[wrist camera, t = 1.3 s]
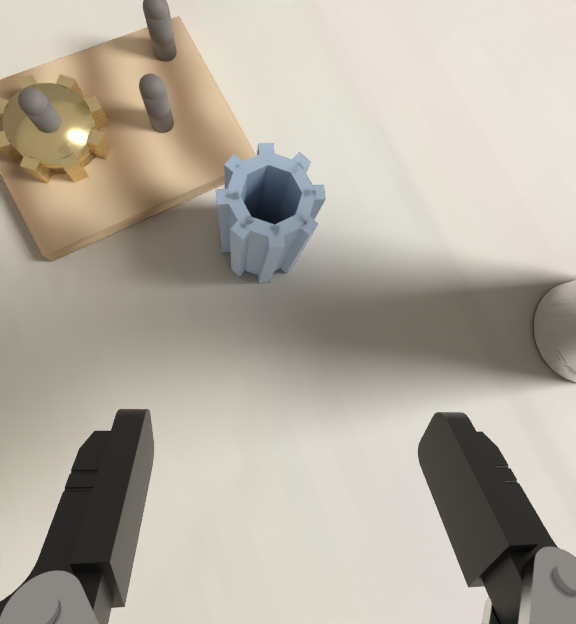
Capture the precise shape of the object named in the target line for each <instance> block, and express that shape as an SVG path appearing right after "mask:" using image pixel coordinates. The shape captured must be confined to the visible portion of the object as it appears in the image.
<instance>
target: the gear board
mask: <svg viewBox="0 0 576 624" xmlns="http://www.w3.org/2000/svg"><path fill="white" fill-rule="evenodd" d="M143 10H144V14H145V18H146V22H147V26H148V27H147V28H144V29H141V30H139V31H136V32H133V33H130V34H127V35H125V36H122V37H119V38H116V39H113V40H111V41H108V42H105V43H102V44H99V45H96V46H94V47H91V48H88V49H85V50H82V51H80V52H77V53H74V54H71V55H68V56H66V57H63V58H60V59H57V60H54V61H51V62H49V63H46V64H43V65H40V66H37V67H35V68H32V69H29V70H26V71H23V72H21V73H18V74H15V75H12V76H9V77H6V78H4V79H1V80H0V98H3V99H6V100H10V99H11V98H12V97H13V96H14V95H15V94H16V93H17V92H19V91H20V90H22V88H21V86H20V84H19V82H18V80H17V79H19V78H22V77H25V76H27V75H30V74H32V75H33V76H34V77H35V79H36V80H37V82H38V83H54V84H56V82H57V79H58V77H59V75H60V74H62V75H65V76H68V77H71V78H74V79H75V80H76V82H77V84H78V85H79V87H80V89H81V91H82V93H83V95H84V96H85V98H84V100H85V99H88V98H90V97H93V96H96V98H97V100H98V102H99V104H100V106H101V107H102V109H103V111H104V113H105V115H106V117H107V119H108V121H109V123H110V125H108V126H105V127H103V128H100V131H101V132H103V133H104V134H105V136H106V138H107V140H108V142H109V143H110V145H111V150H110V152H109V155H108V157H107V160H106V159H103V158H100V157H97V156H95V158H94V159H93V160H92V161H91V162H90V163H89V164H88V165H87V166H85V167H84V168H85V170H86V172H87V174H88V176H89V177H87V178H85V179H83V180H80V181H78V182H74V181H73V179H72V178H71V177H70V176H69V175H68V174H52V177H51V179H50V181H49V184H48V183H45V182H42V181H39V180H36V179H33V178H32V177H31V176H30V175H29V174H28V173H27V172H26V171H25V170H24V169H23V168H22V167H20V164H21V162H22V160H19V161H17V162H12V161H11V160H10V159H9V158H8V157H7V156H6V155H5V154H4V153H3V152H2V151H1V150H0V174H1V176H2V178H3V180H4V182H5V184H6V186H7V188H8V190H9V192H10V194H11V196H12V198H13V200H14V202H15V204H16V206H17V208H18V209H19V211H20V213H21V215H22V217H23V219H24V221H25V223H26V225H27V227H28V229H29V231H30V233H31V235H32V237H33V239H34V241H35V243H36V245H37V247H38V248H39V250H40V252H41V254H42V256H43V257H45V258H46V259H48V260H50V261H54V260H56V259H58V258H61V257H63V256H65V255H67V254H69V253H72V252H74V251H76V250H78V249H81V248H83V247H85V246H87V245H89V244H92V243H94V242H96V241H98V240H101V239H103V238H105V237H107V236H109V235H112V234H114V233H116V232H118V231H121V230H123V229H125V228H127V227H129V226H132V225H134V224H136V223H138V222H141V221H143V220H145V219H147V218H149V217H152V216H154V215H156V214H158V213H161V212H163V211H165V210H167V209H170V208H172V207H174V206H176V205H178V204H181V203H183V202H185V201H187V200H190V199H192V198H194V197H196V196H198V195H201V194H203V193H205V192H207V191H210V190H212V189H214V188H216V187H218V186H221V185H223V184H225V175H224V164H225V163H226V162H227V161H228V160H229V159H230V158H231V157H232V156H233V155H234V154H235V155H236V156H237V157H238V158H239V159H241V160H242V161H245V160H247V159H250V158H252V157H254V156H256V154H255V152H254V151H253V149H252V147H251V145H250V143H249V141H248V140H247V138H246V136H245V134H244V132H243V131H242V129H241V127H240V125H239V123H238V122H237V120H236V118H235V116H234V114H233V113H232V111H231V109H230V107H229V105H228V104H227V102H226V100H225V98H224V96H223V94H222V93H221V91H220V89H219V87H218V85H217V84H216V82H215V80H214V78H213V76H212V75H211V73H210V71H209V69H208V67H207V66H206V64H205V62H204V60H203V58H202V57H201V55H200V53H199V51H198V49H197V47H196V46H195V44H194V42H193V40H192V38H191V37H190V35H189V33H188V31H187V29H186V28H185V26H184V24H183V22H182V20H181V19H180V17H179V16H178V17H175V18H172V19H171V17H170V12H169V7H168V4H167V2H166V0H144V1H143ZM18 102H19V105H20V108H21V109H22V110H23V112H24V113H25V114H26V115H27V117H28V118H29V119H30V120H31V121H32V123H33V124H34V125H35V126H36V127H37V129H38V130H40V131H41V132H44V133H52V132H55V131H57V130H58V129H59V128H60V126H61V117H60V116H59V114H58V113H57V111H56V110H55V108H54V107H53V105H52V104H51V103H50V101H49V100H48V98H47V97H46V96H45V94H44V93H42V92H41V91H39V90H37V89H35V88H26V89H24V90H22V91H21V92H20V94H19V96H18ZM1 131H3V124H2V121H1V120H0V132H1Z"/></svg>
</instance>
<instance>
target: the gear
mask: <svg viewBox="0 0 576 624" xmlns="http://www.w3.org/2000/svg"><path fill="white" fill-rule="evenodd" d="M17 80H18V82H19V84H20V86H21V88H22V90H24V89H26V88H35V89H37V90H39V91H41V92H42V93H44V94H45V96H46V97H47V98H48V100H49V101H50V103H51V104H52V105H53V107H54V108H55V110H56V111H57V113H58V114H59V116H60V117H61V126H60V128H59V129H58V130H57V131H55V132H52V133H44V132H41V131H40V130H38V129H37V127H36V126H35V125H34V124H33V123H32V121H31V120H30V119H29V118H28V117H27V115H26V114H25V113H24V112H23V110H22V109H21V108H20V105H19V102H18V96H19V94H20V92H21V91H22V90H20V91H19V92H17V93H16V94H15V95H14V96H13V97H12V98H11V99H10V100H6V99H3V98H0V120H1V121H2V124H3V131H1V132H0V150H1V151H2V152H3V153H4V154H5V155H6V156H7V157H8V158H9V159H10V160H11V161H12V162H17V161H19V160H22V162H21V164H20V167H22V168H23V169H24V170H25V171H26V172H27V173H28V174H29V175H30V176H31V177H32V178H33V179H36V180H39V181H42V182H45V183H48V184H49V181H50V179H51V177H52V174H68V175H69V176H70V177H71V178H72V179H73V181H74V182H78V181H80V180H83V179H85V178H87V177H89V176H88V174H87V172H86V170H85V168H84V167H85V166H87V165H88V164H89V163H90V162H91V161H92V160H93V159H94V158H95V156H97V157H100V158H103V159H106V160H107V157H108V155H109V152H110V150H111V145H110V143H109V142H108V140H107V138H106V136H105V134H104V133H103V132H101V131H100V128H103V127H105V126H108V125H110V123H109V121H108V119H107V117H106V115H105V113H104V111H103V109H102V107H101V106H100V104H99V102H98V100H97V98H96V96H93V97H90V98H88V99H85V100H84V98H85V96H84V95H83V93H82V91H81V89H80V87H79V85H78V84H77V82H76V80H75V79H74V78H71V77H68V76H65V75H62V74H60V75H59V77H58V79H57V82H56V84H54V83H38V82H37V80H36V79H35V77H34V76H33V75H32V74H30V75H27V76H25V77H22V78H19V79H17Z"/></svg>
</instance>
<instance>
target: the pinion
mask: <svg viewBox="0 0 576 624" xmlns="http://www.w3.org/2000/svg"><path fill="white" fill-rule="evenodd" d="M310 162H311V161H310V160H308V159H307V158H306V157H305V156H303V155H302V154H301V153H300V152H299V153H298V154H297V155H296V156H295V157H294V158H293V159H292V160H291V159H289V158H286V157H283V156H280V155H277V154H275V152H274V144H273V143H258V151H257V156H254V157H252V158H250V159H247V160H245V161H242V160H241V159H239V158H238V157H237V156H236V155H235V154H234V155H233V156H232V157H231V158H230V159H229V160H228V161H227V162H226V163H225V164H224V175H225V189H217V190H216V200H217V210H218V220H219V231H220V241H221V252H222V253H229V252H230V253H231V271H232V272H234V273H235V274H236V275H237V276H239V277H240V276H241V275H242V274H243V273H244V271H246V272H249V273H253V274H256V275H258V283H267V282H270V280H271V277H272V275H273V273H274V271H276V270H278V269H281V270H283V271H284V272H285V273H287V272H288V271H289V270H290V269H291V267H292V266H293V265H294V263H295V262H296V260H297V258H298V257H299V255H300V253H301V252H302V250H303V248H304V247H305V245H306V243H307V242H308V240H309V238H310V237H311V235H312V234H313V232H314V230H315V229H316V227H317V225H318V223H317V222H316V221H314V219H315V217H316V215H317V213H318V212H319V210H320V208H321V206H322V205H323V203H324V201H325V191H324V185H312V183H311V181H310V180H309V178H308V176H307V174H306V173H307V170H308V167H309V165H310Z"/></svg>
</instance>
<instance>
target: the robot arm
mask: <svg viewBox="0 0 576 624" xmlns="http://www.w3.org/2000/svg"><path fill="white" fill-rule="evenodd" d="M534 336H535V340H536V344H537V347H538V349H539V351H540V354H541V356H542V357H543V359H544V360H545V362H546V363H547V364H548V366H549V367H550V368H551V369H552V370H554V371H555V372H556V373H557V374H558V375H560V376H562V377H563V378H565V379H567V380H570V381H573V382H576V280H574V281H570V282H566V283H563V284H560V285H557V286H556V287H554V288H552V289H550V290H549V291H548V292H547V293H546V294H545V295H544V296H543V298H542V300H541V301H540V303H539V304H538V307H537V310H536V313H535V318H534ZM153 457H154V440H153V432H152V424H151V416H150V411H149V409H119V410H118V412H117V414H116V416H115V419H114V423H113V426H112V429H111V431H94V432H93V433H92V435H91V436H90V437H89V438H88V439H87V440H86V442H85V443H84V444H83V445H82V446H81V447H80V449H79V451H78V453H77V456H76V459H75V461H74V464H73V467H72V469H71V474H70V475H69V478H68V480H67V483H66V486H65V491H64V492H63V494H62V496H61V499H60V502H59V504H58V507H57V510H56V512H55V515H54V518H53V520H52V523H51V526H50V528H49V531H48V534H47V537H46V539H45V542H44V545H43V547H42V550H41V553H40V555H39V558H38V560H37V562H36V565H35V567H34V568H33V570H32V572H31V573H30V575H29V576H28V577H27V579H26V580H25V581H24V582H23V583H22V584H21V585H20V587H19V588H17V589H16V590H15V591H14V592H13V593H12V594H11V595H9V596H8V597H6V598H5V599H4V600H2V601H0V624H108V621H109V617H110V612H111V608H114V607H125V602H126V597H127V592H128V587H129V582H130V577H131V572H132V567H133V562H134V557H135V552H136V547H137V542H138V537H139V532H140V526H141V521H142V516H143V511H144V506H145V501H146V496H147V491H148V486H149V481H150V476H151V471H152V465H153ZM418 458H419V463H420V466H421V468H422V471H423V473H424V476H425V478H426V481H427V484H428V486H429V489H430V491H431V494H432V496H433V499H434V501H435V504H436V506H437V509H438V511H439V514H440V517H441V519H442V522H443V524H444V527H445V529H446V532H447V534H448V537H449V539H450V542H451V545H452V547H453V550H454V552H455V555H456V557H457V560H458V562H459V565H460V567H461V570H462V572H463V575H464V578H465V580H466V583H467V585H468V587H479V586H485V588H486V591H487V593H488V595H489V597H488V598H487V600H486V603H485V607H484V613H483V619H482V624H576V557H575V556H573V555H572V554H570V553H569V552H567V551H565V550H563V549H560V548H558V547H557V546H556V544H555V543H554V541H553V540H552V538H551V537H550V535H549V533H548V532H547V530H546V528H545V527H544V525H543V523H542V522H541V520H540V518H539V516H538V515H537V513H536V511H535V510H534V508H533V506H532V505H531V503H530V501H529V499H528V498H527V496H526V494H525V493H524V491H523V489H522V487H521V486H520V484H519V483H517V479H516V477H515V476H514V474H513V472H512V470H511V469H509V468H508V464H507V462H506V460H505V459H504V457H503V455H502V453H501V452H500V450H499V448H498V447H497V446H496V445H495V444H494V443H493V442H492V441H491V440H490V439H489V438H488V437H487V436H486V435H485V434H484V433H483V432H476V430H475V428H474V427H473V425H472V423H471V421H470V419H469V418H468V417H467V415H466V414H464V413H460V412H438V413H435V414H434V416H433V418H432V419H431V421H430V423H429V425H428V427H427V429H426V431H425V433H424V435H423V437H422V439H421V441H420V443H419V446H418Z"/></svg>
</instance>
